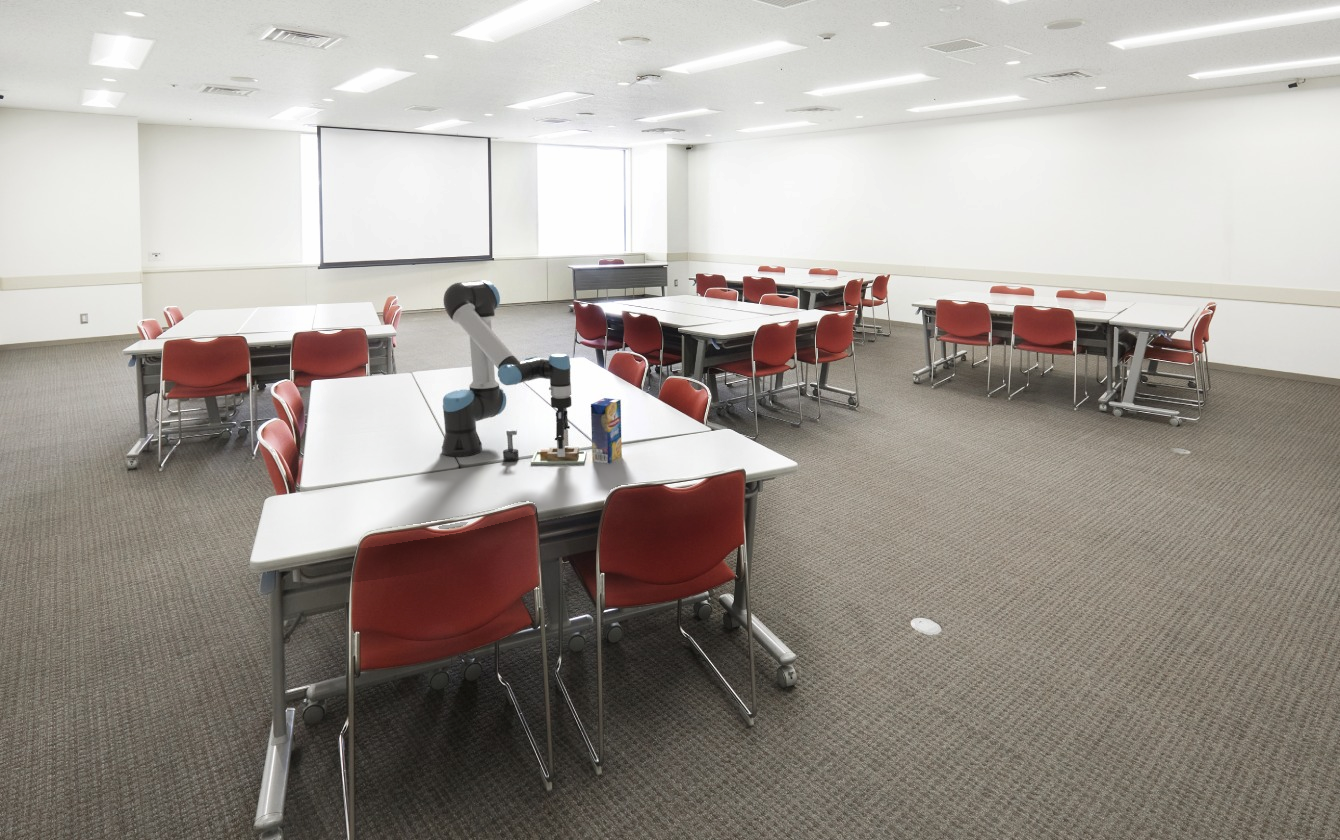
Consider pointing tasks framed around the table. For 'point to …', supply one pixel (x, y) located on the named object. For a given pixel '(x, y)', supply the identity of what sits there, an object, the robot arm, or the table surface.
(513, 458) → the gray post stand
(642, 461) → the table surface
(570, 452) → the wooden rectangular frame
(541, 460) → the tray
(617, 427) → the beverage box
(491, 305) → the robot arm
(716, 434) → the table surface
